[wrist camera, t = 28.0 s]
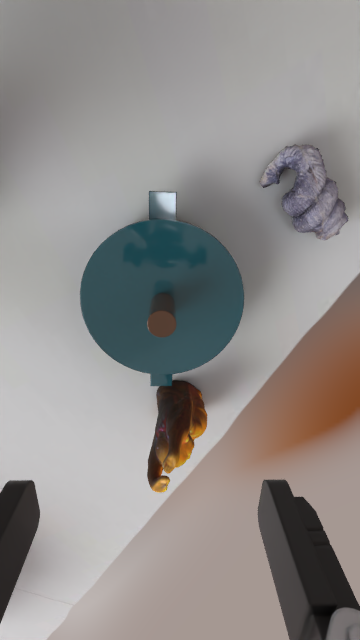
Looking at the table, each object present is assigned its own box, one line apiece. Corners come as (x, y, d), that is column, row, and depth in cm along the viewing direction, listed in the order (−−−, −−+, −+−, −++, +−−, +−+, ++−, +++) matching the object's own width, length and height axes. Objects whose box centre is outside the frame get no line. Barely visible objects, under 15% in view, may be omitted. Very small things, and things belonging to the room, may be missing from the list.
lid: (89, 369, 33) (74, 403, 28) (74, 215, 27) (51, 221, 22) (234, 369, 34) (246, 403, 28) (250, 220, 28) (269, 226, 23)
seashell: (260, 163, 32) (319, 230, 35) (247, 189, 29) (313, 261, 32) (306, 121, 28) (368, 202, 31) (296, 147, 25) (366, 234, 28)
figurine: (200, 417, 42) (212, 504, 30) (151, 411, 42) (144, 498, 30) (209, 377, 40) (226, 454, 28) (158, 371, 39) (153, 447, 27)
